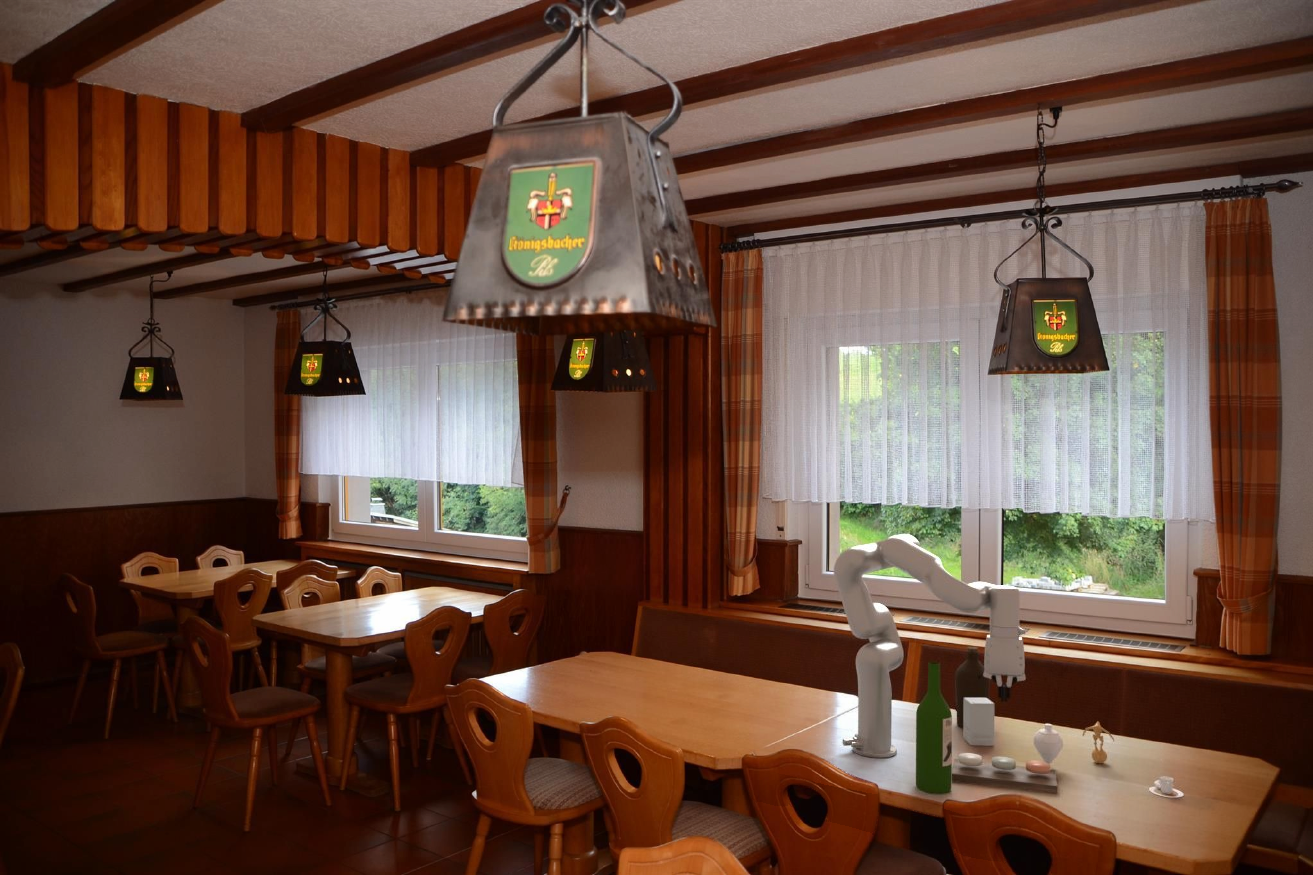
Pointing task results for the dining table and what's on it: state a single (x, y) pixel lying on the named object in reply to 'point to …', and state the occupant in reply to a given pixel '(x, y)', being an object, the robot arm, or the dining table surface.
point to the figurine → (1100, 754)
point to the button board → (1004, 777)
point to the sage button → (1003, 763)
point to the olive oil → (970, 682)
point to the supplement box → (978, 721)
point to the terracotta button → (1038, 767)
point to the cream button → (970, 759)
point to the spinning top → (1048, 743)
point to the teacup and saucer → (1165, 787)
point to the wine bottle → (933, 738)
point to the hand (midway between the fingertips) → (1004, 700)
